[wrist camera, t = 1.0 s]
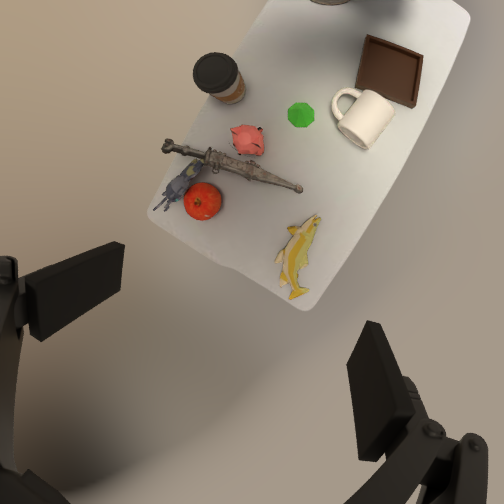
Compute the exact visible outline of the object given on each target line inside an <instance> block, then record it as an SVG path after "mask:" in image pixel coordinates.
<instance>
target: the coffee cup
mask: <svg viewBox="0 0 504 504" xmlns="http://www.w3.org/2000/svg"><path fill="white" fill-rule="evenodd" d="M193 79H194V82H195V83H196V85H197V86H198V88H199V89H201V90H202V91H204V92H206V93H209V94H210V95H212V96H213V97H215V98H217V99H219V100H221V101H223V102H225V103H228V104H233V103H237V102H238V101H240V100H241V99H242V98H243V97H244V95H245V92H246V87H245V84H244V81H243V79H242V76H241V74H240V72H239V71H238V67H237V64H236V63H235V61H234V60H233V59H232V58H231V57H229V56H228V55H226V54H223V53H216V52H214V53H209V54H206V55H204V56H202V57H201V58H200V59H199V60H198V61H197V62H196V64H195V66H194V69H193Z"/></svg>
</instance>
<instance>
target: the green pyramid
mask: <svg viewBox="0 0 504 504" xmlns="http://www.w3.org/2000/svg"><path fill="white" fill-rule="evenodd" d="M288 120H289V121H290V122H291V123H292V124H293V125H294V126H295V127H307V126H308V125H310V124H311V123H312V122H313V121H314V110H313V109H312V108H311V107H310V106H309V105H308V104H307V103H295V104H294V105H293V106H291V107H290V108H289V109H288Z"/></svg>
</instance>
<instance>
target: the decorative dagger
mask: <svg viewBox="0 0 504 504" xmlns="http://www.w3.org/2000/svg"><path fill="white" fill-rule="evenodd" d="M161 149H162V152H163V153H165V154H167V153H170V152H171V151H173V152H177V153H181V154H182V155H183V156H186V155H188V156H193V157H196V158H200V159H204V165H206V166H210V167H213V169H215V170H218V172H214V171H213V170H212V172H213V173H214V174H217V173H219V169H223V170H226V171H229V172H232V173H236V174H238V175H241V176H243V177H245V178H247V179H248V180H249V181H251V179H252V180H257V181H261V182H265V183H270V184H274V185H279V186H283V187H286V188H289V189H293V190H294V191H295V192H296V193H302V192H303V187H302V186H300V185H298V184H297V185H293V184H292V183H289V182H287V181H285V180H283V179H281V178H279V177H278V176H275V175H273V174H271V173H269V172H267V171H264V170H262V169H261V168H259V167H260V165H258V164H257V165H255V164H256V163H255V162H254V161H252V160H250V163H249V161H245V162H241V161H238V160H235V159H232V158H230V157H227V156H226V153H224V154H222V153H221V151H220V152H217V151H216V150H215V149H214V150H213V151H211V149H212V148H211V147H209V149H208V150H207V152H206V153H204V152H201V151H199V150H194V149H191V148H190V147H189V146H184V147H183V146H180V145H176V144H174V142H173V140H171V139H165V143H164V144H163V147H162V148H161Z"/></svg>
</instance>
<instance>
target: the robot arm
mask: <svg viewBox="0 0 504 504" xmlns="http://www.w3.org/2000/svg"><path fill="white" fill-rule="evenodd" d="M311 1H313V2H316V3H319V4H324V5H338V4H343V3H346V2H348V1H350V0H311ZM124 249H125V245H124V244H120V243H118V242H115V241H114V242H111V243H108V244H106V245H103V246H100V247H97V248H94V249H92V250H89V251H86V252H84V253H81V254H79V255H76V256H74V257H71V258H69V259H66V260H63V261H61V262H58V263H56V264H53V265H49V266H47V267H44V268H42V269H39V270H37V271H35V272H32V273H30V274H27V275H25V276H22V277H20V278H18V261H17V259H16V258H14V257H11V256H0V504H70V503H69V502H68V501H67V500H66V499H65V498H64V497H63V496H62V495H61V494H60V493H59V492H58V490H56V489H55V488H53V487H52V486H50V485H49V484H48V483H46V482H45V481H44V480H42V479H41V478H40V477H38V476H37V475H36V474H34V473H33V472H32V471H31V470H29V469H28V470H27V471H26V472H25V473H24V474H22V473H19V472H17V468H16V466H15V462H14V456H13V426H14V423H13V422H14V406H15V392H16V383H17V374H18V366H19V359H20V353H21V347H22V341H23V335H24V330H23V326H24V325H26V324H27V323H29V330H30V335H31V336H33V337H34V338H36V339H37V340H39V341H40V342H42V341H44V340H45V339H47V338H48V337H50V336H51V335H52V334H54V333H56V332H57V331H59V330H60V329H62V328H63V327H64V326H66V325H68V324H69V323H71V322H72V321H74V320H75V319H77V318H78V317H79V316H81V315H83V314H84V313H86V312H87V311H89V310H90V309H92V308H93V307H95V306H97V305H98V304H100V303H101V302H103V301H104V300H106V299H108V298H109V297H111V296H112V295H114V294H115V293H117V292H119V291H120V288H121V277H122V267H123V258H124ZM346 365H347V371H348V377H349V384H350V391H351V398H352V406H353V413H354V422H355V430H356V439H357V448H358V458H359V460H362V461H371V462H377V461H378V460H379V458H380V457H381V456H382V455H383V454H384V453H385V456H386V461H385V463H384V464H383V465H382V466H381V467H380V468H379V469H378V470H377V471H376V472H375V473H374V474H373V475H372V477H371V478H370V479H369V480H368V481H367V482H366V483H365V484H364V485H363V486H362V487H361V488H360V489H359V490H358V491H357V492H356V493H355V494H354V495H352V497H350V498H349V499H348V500H347V501H346V502H345V503H344V504H405V503H406V502H407V500H408V499H409V498H410V496H411V495H412V493H413V492H414V491H415V489H416V488H417V486H418V485H419V484H421V485H422V486H421V490H420V493H419V496H418V499H417V502H416V504H486V499H487V484H488V447H487V444H486V442H485V441H484V439H483V438H482V437H481V436H479V435H477V434H474V433H467V434H466V435H464V436H463V437H462V439H461V440H460V441H457V440H454V439H451V438H448V437H446V432H445V429H444V428H443V427H442V425H440V424H439V423H438V422H436V421H434V420H432V419H429V418H428V415H427V412H426V410H425V407H424V405H423V402H422V401H421V398H420V395H419V394H418V390H417V388H416V386H415V384H414V383H413V382H412V381H411V379H410V378H409V377H405V376H402V374H401V371H400V369H399V366H398V364H397V362H396V359H395V357H394V354H393V352H392V350H391V347H390V345H389V342H388V340H387V338H386V336H385V333H384V331H383V329H382V326H381V324H379V323H376V322H372V321H368V320H367V321H366V324H365V326H364V328H363V330H362V333H361V335H360V337H359V339H358V341H357V344H356V346H355V348H354V350H353V352H352V354H351V356H350V358H349V360H348V362H347V364H346Z"/></svg>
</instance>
